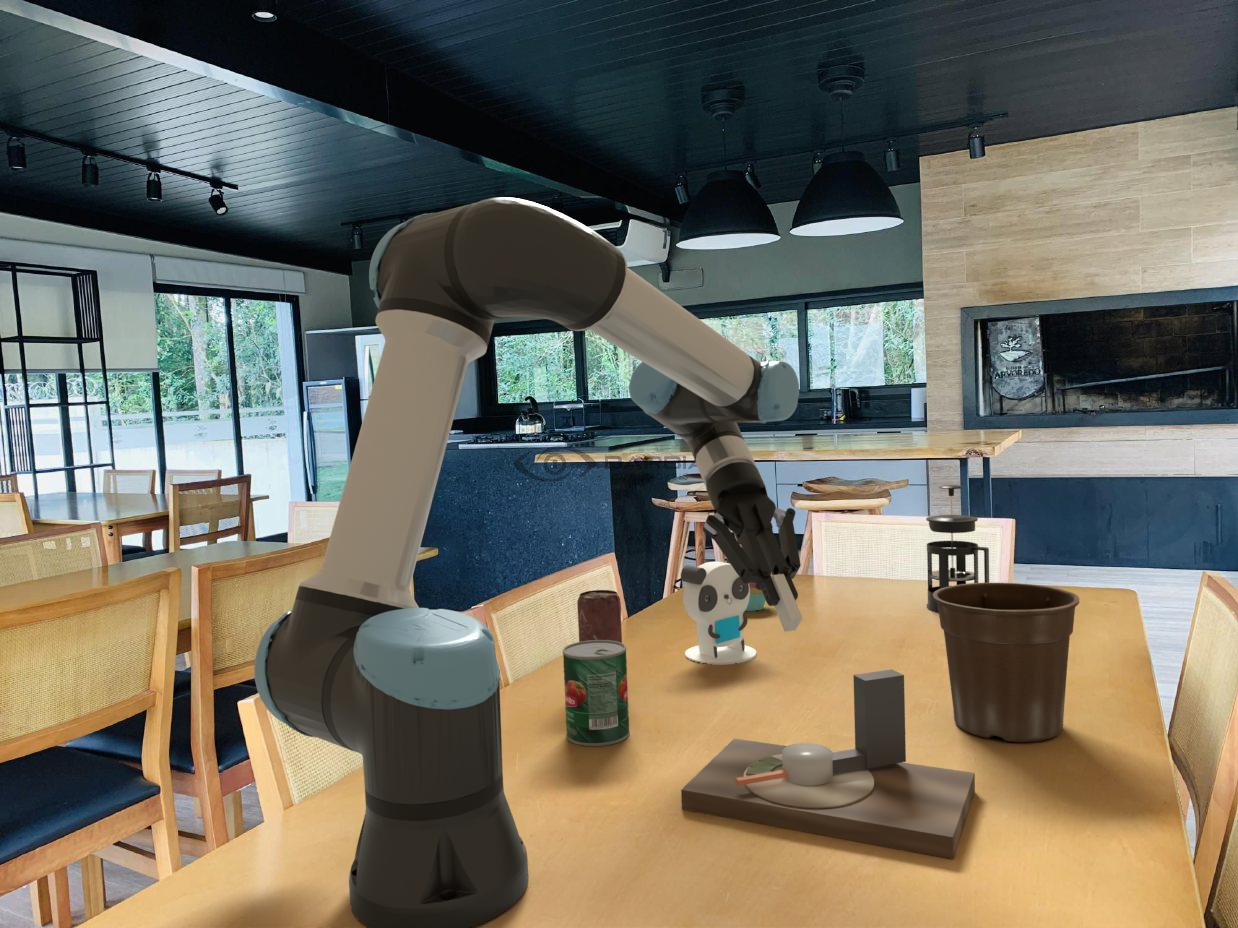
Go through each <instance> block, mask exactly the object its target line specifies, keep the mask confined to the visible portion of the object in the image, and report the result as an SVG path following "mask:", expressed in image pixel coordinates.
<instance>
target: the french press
mask: <svg viewBox="0 0 1238 928" xmlns="http://www.w3.org/2000/svg"><path fill="white" fill-rule="evenodd" d="M938 488H939V489H940V490H941V489H942V490H948V496H949V499H950V501H949V502H950V514H940V515H932V516H931V515H930V516H928V517H926V519H925V520H926V521H927V522H928V527H929V530H930V531H932V533H934V532H935V533H942V534H950V540H937V541H935V540H934V541H930V542H927V543H926V552H927V553H926V554H927V557H926V560H927V604H926V609H927V608H928V609H927V610H929V611H931V610H932V612H934V611H936V612H935V613H939V611H938V604H937V602H936V601H935V600H934V598H933V593H934V592H935V591H937V590H938V589H941V588H945V587H949V586H950V582H954V583H955V582H956V585H961V584H967V582H969V581H973V583H979V551H983V555H984V556H983V557H984V558H983V561H984V563H983V565H984V567H983V568H984V569H983V570H984V571H983V572H984V583H990V551H989V550H990V549H989V547H986V546H985V547H984V546H979V544H978V543H976V542H972V541H967V540H954V534H960V533H961V534H963V533H973V532H976V522H978V517H977V516H970V515H964V514H963V515H962V514H953V510H954V509H953V507H954V505H953V497H954V496H955V490H958V489H963V488H964V486H963V485H959V484H945V485H941V486H939V487H938ZM933 555H938V570H934V571H933ZM970 555H973V571H968V570H966V567H967V566H966V565H967V564H966V562H967V559H966V556H970ZM949 557H950V558H951V560H950V561H951V562H950V561H949ZM954 557H956V558H955V563H956V564H955V566H954ZM949 562H950V563H951V567H949ZM955 567H956V568H955ZM933 580H935V581H938V583H939V585H938V586H933Z"/></svg>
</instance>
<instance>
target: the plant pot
mask: <svg viewBox="0 0 1238 928" xmlns="http://www.w3.org/2000/svg"><path fill="white" fill-rule="evenodd" d="M933 598H934V600H935V601H936V602H937V604H938V611H939V612H938V616H939V624H940V627H941V629H942V630H943V637H944V643H945V650H946V652H945V653H946V658H947V659H946V660H947V667H948V675H949V683H950V692H951V694H950V695H951V700H952V708H953V719H954V723H955V724H956V725H957V726H958V728H960V729H961V730H963V731H965V732H967V733H969V734H971V735H975V736H977V737H979V738H985V739H990V738H991V737H994V736H995V737H998V738H1001V739H1002V740H1003V741H1005V742H1013V743H1014V742H1017V743H1018V742H1021V743H1022V742H1023V743H1024V742H1025V743H1034V742H1041V741H1042V742H1043V741H1045V740H1048V739H1052V738H1055V737H1057V736H1058V735H1060V733H1061V731H1062V729H1063V727H1064V715H1065V713H1064V712H1065V701H1066V700H1065V699H1066V687H1067V686H1066V685H1067V675H1068V673H1067V672H1068V659H1069V649H1070V648H1069V647H1070V638H1071V637H1070V636H1072V634H1073V632H1074V625H1075V624H1074V623H1075V611H1076V607H1077V606H1078V605H1079V604H1080V597H1079V595H1077V594H1075V593H1074V592H1072V591H1069V590H1065V589H1062V588H1057V587H1053V586H1049V585H1039V584H1032V583H1031V584H1030V583H1020V582H1016V583H1015V582H989V583H985V582H978V583H974V582H972V583H966V584H961V585H957V584H955V585H949V587H945V588H941V589H938V590H937V591H935V592H934V593H933Z"/></svg>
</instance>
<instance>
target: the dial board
mask: <svg viewBox="0 0 1238 928" xmlns="http://www.w3.org/2000/svg"><path fill="white" fill-rule="evenodd" d="M787 746H788V745H783V744H775V743H769V742H763V741H762V742H761V741H755V740H747V739H739V738H733V739H731V741H729V743H727V745H726V746H724V747H723V748H722V749H721V750H720V752H718V754H716V755H715V756H714V757H713V758H712V759H711V760H710V761H709V762H708V763H707V764H706V765H705V766H704V767H703V768H702V769H701V770H700V771H699V772H698V773H697V774H696V775H695V776H693V778H691V779H690V780H689V782H688V783H685V785H684V787H682V788H681V789H680V794H681V795H680V797H681V798H680V799H681V810H686V811H690V812H691V811H692V812H696V813H697V812H698V813H703V814H708V815H713V816H719V817H723V818H724V817H725V818H729V819H734V820H741V821H746V822H752V823H755V824H762V825H765V826H766V825H767V826H773V827H777V828H783V829H789V830H792V831H798V832H799V831H800V832H802V833H803V832H804V833H809V834H815V835H820V836H825V837H830V838H831V837H832V838H835V839H836V838H837V839H841V840H847V841H853V842H858V843H864V844H868V845H869V844H870V845H872V846H873V845H874V846H880V847H886V848H890V849H896V850H902V851H906V852H910V853H911V852H912V853H917V854H922V855H928V856H933V857H937V858H938V857H939V858H942V859H943V858H944V859H949V860H954V859H955V854H956V851H957V848H958V847H959V846H958V845H959V842H960V839H961V836H962V833H963V831H964V827H965V825H966V820H967V817H968V815H969V811H970V809H971V805H972V803H973V799H974V797H975V794H976V785H975V781H976V780H975V779H976V777H975V776H976V773H975V772H971V771H964V770H959V769H951V768H943V767H936V766H930V765H929V766H927V765H923V764H922V765H921V764H915V763H909V762H902V763H896V764H890V765H885V766H879V767H874V768H868V769H867V768H863V769H857V770H852V771H846V772H841V773H835V774H833V778H832V780H831V781H829V782H828V783H825V784H821V785H811V786H810V785H799V784H795V783H792V782H790V781H788V780H786V779H785V778H779V779H774V780H768V781H762V782H757V783H751V784H745V785H740V786H739V785H738V784H737V783H736V778H739V777H745V776H751V775H756V774H762V773H768V772H773V771H779V770H783V760H782V750H783V749H784V748H785V747H787ZM832 753H833V751H832Z"/></svg>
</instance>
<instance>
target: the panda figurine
mask: <svg viewBox="0 0 1238 928" xmlns="http://www.w3.org/2000/svg"><path fill="white" fill-rule="evenodd" d="M680 578H681V581H682V582H684V583H685V586H684V589H683V595H682V602H683V603H682V604H683V607H684V609H685V612H686V613H687V615H688V616H689V617H690V618H692V620H693V621H695V624H696V625H695V626H696V627H695V628H696V633H697V645H695V646H692V647H689V648H688V649H686V650H685V652H684V654H685V655H684V656H686V657H687V658H688V659H687V658H686V657H685V658H686V659H687V660H689V661H691V660H692V661H691V662H693V661H695V662H694V663H697V662H700V663H699V664H702V663H707V664H706V665H711V664H712V665H713V666H714V665H715V666H725V665H735V663H737V664H742V663H746V662H749V661H752V660H753V659H755V658H756V656H757V650H756V649H755V648H754V647H751V646H748V645H746V644H745V638H744V637H745V636H744V629H745V628H746V626H747V624H748V621H749V620H748V615H747V613H745V612H746V611H745V610H746V608H747V605H748V602H749V598H750V586H749V584H746V583H744V582H743V581H742V580H741V578H740V577H739V576H738V574H737V573H736V571H735V570H734V568H733V567H732V565H731V564H730V562H729V561H728V560H727V559H726V561H725V562H722V561H708V562H705V563H702V564H700V565H698V566H692V565H685V566H684V567H682V569H681V572H680Z"/></svg>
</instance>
